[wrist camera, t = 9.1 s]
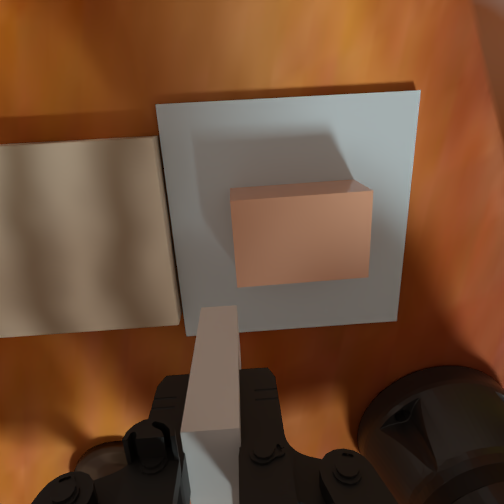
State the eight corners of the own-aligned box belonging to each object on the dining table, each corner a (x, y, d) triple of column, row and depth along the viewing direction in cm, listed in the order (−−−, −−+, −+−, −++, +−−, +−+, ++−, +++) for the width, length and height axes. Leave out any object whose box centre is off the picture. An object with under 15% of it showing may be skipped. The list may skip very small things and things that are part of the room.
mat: (416, 90, 26) (420, 90, 25) (393, 317, 32) (396, 320, 32) (157, 104, 25) (155, 104, 25) (187, 332, 32) (186, 336, 31)
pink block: (353, 179, 27) (373, 190, 23) (350, 255, 29) (368, 277, 26) (230, 188, 27) (230, 200, 23) (236, 264, 29) (237, 287, 25)
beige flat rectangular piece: (158, 135, 26) (152, 137, 24) (182, 311, 31) (178, 324, 29) (-109, 150, 25) (-136, 153, 23) (-41, 327, 30) (-58, 342, 28)
